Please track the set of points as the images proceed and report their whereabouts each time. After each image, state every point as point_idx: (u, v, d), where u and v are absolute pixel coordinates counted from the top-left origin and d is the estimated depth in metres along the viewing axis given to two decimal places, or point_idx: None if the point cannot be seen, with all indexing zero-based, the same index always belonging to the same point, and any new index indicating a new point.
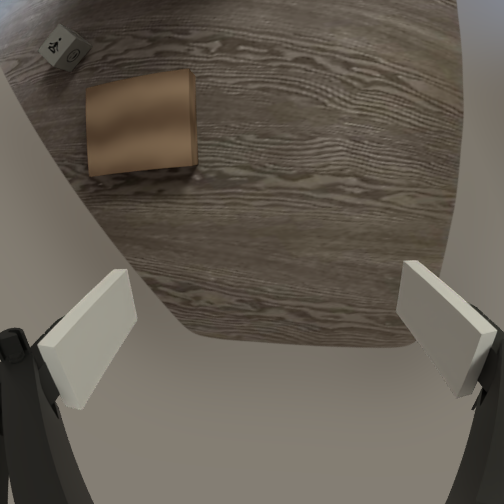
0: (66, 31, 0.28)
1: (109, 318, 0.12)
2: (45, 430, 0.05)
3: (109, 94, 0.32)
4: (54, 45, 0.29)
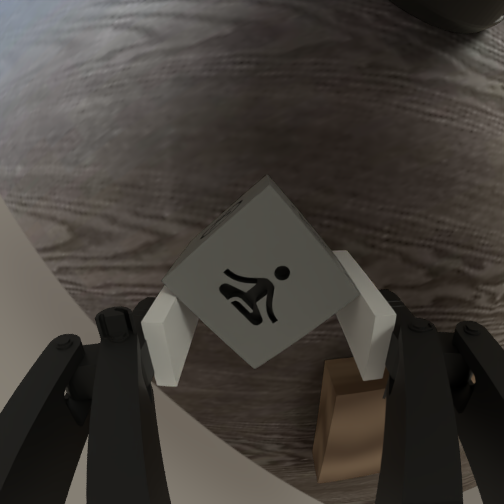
0: (314, 247, 0.10)
1: None
2: (140, 418, 0.06)
3: (383, 405, 0.19)
4: None
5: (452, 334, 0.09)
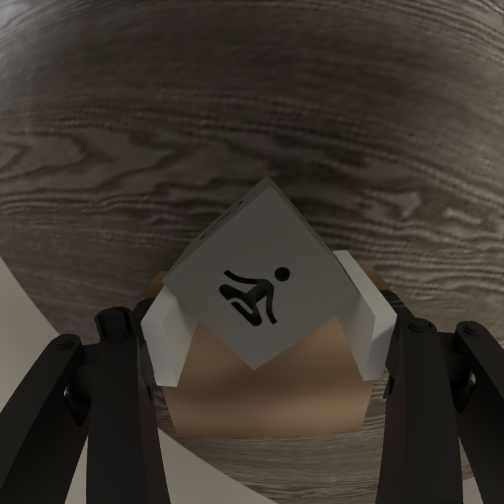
0: (315, 248, 0.10)
1: None
2: (139, 418, 0.06)
3: None
4: None
5: (452, 334, 0.09)
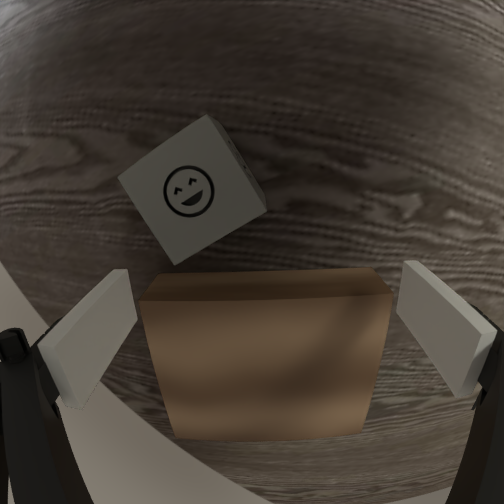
0: None
1: (109, 318, 0.12)
2: (45, 430, 0.05)
3: (206, 328, 0.17)
4: None
5: None
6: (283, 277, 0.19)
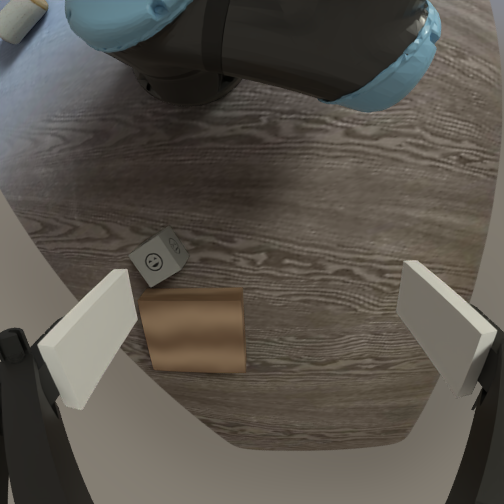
0: (162, 230, 0.38)
1: (109, 318, 0.12)
2: (45, 430, 0.05)
3: (164, 312, 0.40)
4: None
5: None
6: (198, 291, 0.42)
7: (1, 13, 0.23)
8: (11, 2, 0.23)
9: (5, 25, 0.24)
